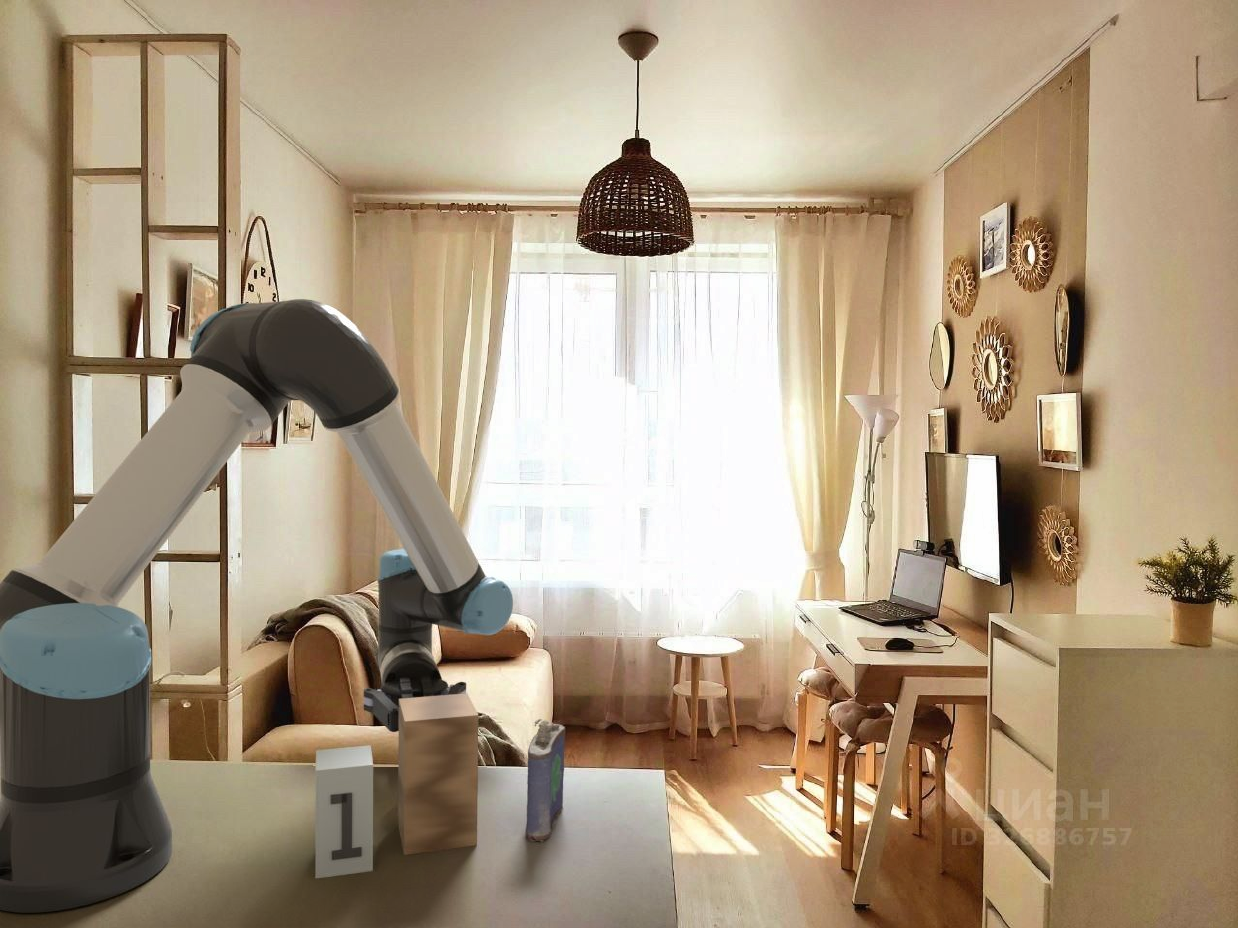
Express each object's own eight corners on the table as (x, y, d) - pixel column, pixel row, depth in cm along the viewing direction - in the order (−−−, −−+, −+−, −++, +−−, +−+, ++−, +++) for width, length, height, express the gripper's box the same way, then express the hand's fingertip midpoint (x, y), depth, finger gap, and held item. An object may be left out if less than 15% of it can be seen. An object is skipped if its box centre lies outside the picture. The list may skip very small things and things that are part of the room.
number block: (315, 879, 81) (315, 771, 81) (316, 852, 86) (316, 750, 86) (372, 871, 83) (373, 765, 82) (370, 845, 88) (370, 745, 87)
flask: (547, 843, 89) (548, 737, 88) (518, 840, 89) (519, 735, 89) (566, 803, 98) (567, 707, 97) (540, 801, 98) (541, 705, 98)
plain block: (404, 854, 86) (404, 721, 85) (398, 822, 93) (398, 698, 92) (476, 844, 88) (478, 714, 88) (466, 814, 95) (467, 693, 94)
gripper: (459, 702, 122) (488, 769, 100) (359, 710, 118) (366, 781, 96) (460, 647, 122) (489, 702, 99) (359, 654, 118) (366, 712, 95)
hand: (428, 741), depth 97 cm, fingers closed
